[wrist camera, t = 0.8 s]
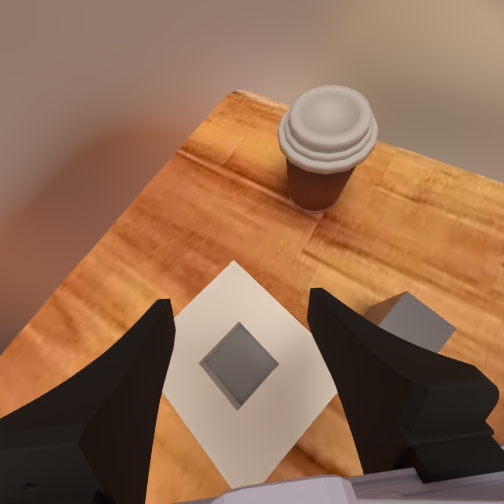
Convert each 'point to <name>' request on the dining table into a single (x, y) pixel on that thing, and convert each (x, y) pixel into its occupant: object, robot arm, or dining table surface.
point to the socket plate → (245, 377)
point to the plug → (411, 321)
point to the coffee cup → (325, 144)
